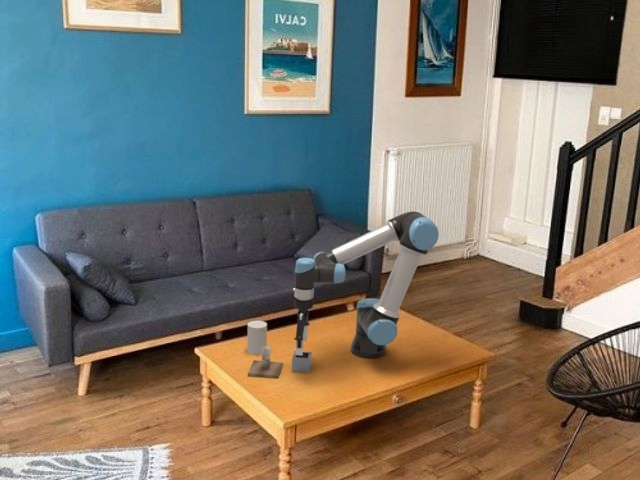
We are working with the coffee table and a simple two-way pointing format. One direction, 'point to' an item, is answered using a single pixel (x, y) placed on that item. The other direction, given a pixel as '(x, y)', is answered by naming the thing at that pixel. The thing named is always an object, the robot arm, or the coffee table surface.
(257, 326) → the gold-veined taupe cylinder
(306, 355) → the collar
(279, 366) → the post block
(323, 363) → the coffee table surface
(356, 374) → the coffee table surface
